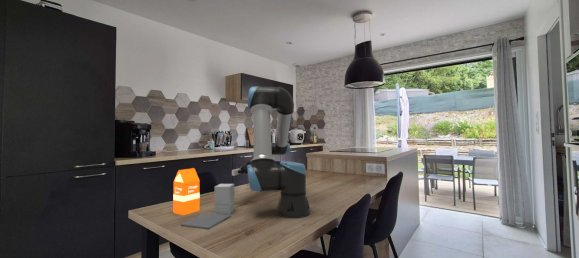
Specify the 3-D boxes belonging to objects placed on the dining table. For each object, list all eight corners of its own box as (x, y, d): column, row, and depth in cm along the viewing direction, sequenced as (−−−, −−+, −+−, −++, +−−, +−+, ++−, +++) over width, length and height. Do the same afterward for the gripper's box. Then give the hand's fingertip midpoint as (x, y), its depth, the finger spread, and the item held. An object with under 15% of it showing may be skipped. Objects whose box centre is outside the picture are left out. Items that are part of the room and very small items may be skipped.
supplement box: (234, 210, 119) (235, 183, 120) (229, 214, 112) (229, 186, 112) (220, 209, 120) (220, 183, 120) (213, 214, 112) (214, 186, 113)
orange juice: (199, 210, 119) (199, 168, 120) (183, 215, 111) (183, 170, 112) (189, 208, 123) (189, 167, 124) (172, 212, 115) (173, 169, 116)
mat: (206, 214, 113) (206, 212, 113) (231, 216, 109) (231, 215, 109) (180, 225, 98) (180, 224, 98) (208, 229, 94) (208, 227, 94)
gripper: (264, 173, 144) (244, 181, 122) (244, 172, 148) (221, 179, 126) (264, 160, 145) (244, 165, 122) (244, 160, 148) (221, 165, 126)
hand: (233, 172), depth 124 cm, fingers closed
